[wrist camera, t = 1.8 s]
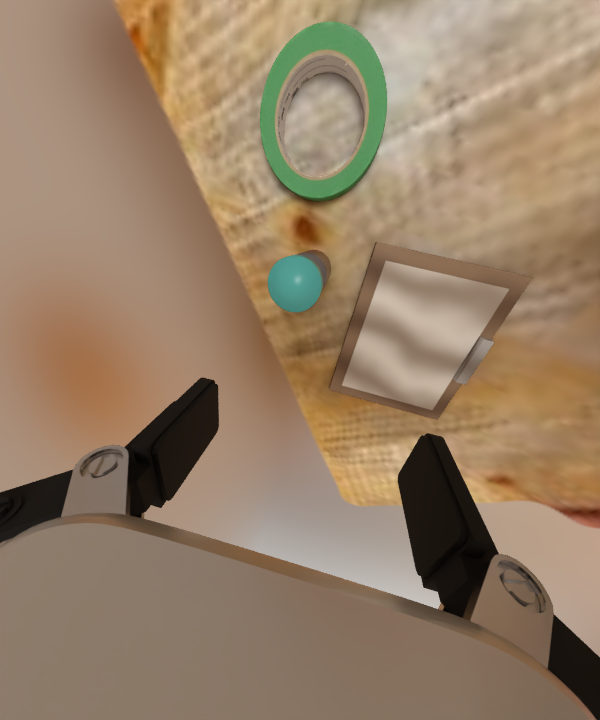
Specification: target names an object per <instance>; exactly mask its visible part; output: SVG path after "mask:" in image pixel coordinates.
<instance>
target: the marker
mask: <svg viewBox="0 0 600 720" xmlns="http://www.w3.org/2000/svg"><path fill="white" fill-rule="evenodd" d="M330 272H331V264H330V261H329V259H328V257H327V256H326V255H325V254H324V253H323V252H321V251H318V250H309V251H306V252H303V253H300V254H297V255H292V256H288V257H285V258H283V259H281V260H279V261H278V262H277V263H276V264H275V265H274V266H273V267H272V269H271V271H270V273H269V277H268V289H269V292H270V295H271V297H272V299H273V300H274V302H275V303H276V304H277V305H278V306H279V307H281V308H282V309H284V310H286V311H289V312H302V311H305V310H307V309H309V308H310V307H312V306H313V305H314V303H315V302H316V301H317V299H318V297H319V296H320V293H321V291H322V289H323V287H324V285H325V283H326V282H327V280H328V278H329V276H330Z"/></svg>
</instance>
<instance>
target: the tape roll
mask: <svg viewBox="0 0 600 720" xmlns="http://www.w3.org/2000/svg"><path fill="white" fill-rule="evenodd" d="M327 72H331V73H336V74H339V75H341V76H343V77H345V78H346V79H347V80H349V81H350V82H351V83H352V85H353V86H354V87H355V89H356V90H357V92H358V94H359V96H360V99H361V102H362V106H363V111H364V129H363V132H362V135H361V138H360V141H359V144H358V146H357V147H356V150H355V151H354V153H353V155H352V156H351V157H350V158H349V159H348V161H347V162H346V163H345V164H344V165H343V166H342V167H341V168H339V169H338V170H337V171H335V172H333V173H331V174H327V175H322V176H321V177H312V176H308V175H305V174H303V173H301V172H300V171H298V170H297V169H296V168H295V167H294V166H293V165H292V163H291V161H290V159H289V157H288V154H287V151H286V147H285V140H284V127H285V119H286V115H287V111H288V108H289V105H290V103H291V101H292V99H293V97H294V95H295V94H296V92H297V91H298V89H299V88H300V87H301V86H302V85H303V84H304V83H305V82H306V81H307V80H308V79H310V78H311V77H313V76H315V75H318V74H321V73H327ZM386 111H387V90H386V82H385V77H384V73H383V69H382V66H381V63H380V61H379V58H378V56H377V54H376V52H375V51H374V49H373V47H372V46H371V44H370V43H369V42H368V40H367V39H366V38H365V37H364V36H363V35H362V34H361V33H359V32H358V31H357V30H355V29H354V28H352V27H350V26H348V25H345V24H342V23H338V22H323V23H317V24H314V25H312V26H310V27H307V28H305V29H304V30H302V31H301V32H299V33H298V34H297V35H295V36H294V37H293V38H292V39H291V40H290V41H289V42H288V43H287V44H286V46H285V47H284V48H283V49H282V51H281V52H280V54H279V55H278V57H277V58H276V60H275V62H274V64H273V66H272V68H271V71H270V73H269V75H268V78H267V81H266V85H265V88H264V92H263V97H262V102H261V111H260V129H261V137H262V143H263V147H264V151H265V154H266V157H267V159H268V162H269V164H270V166H271V168H272V170H273V171H274V173H275V174H276V176H277V177H278V179H279V180H280V181H281V182H282V183H283V184H284V185H285V186H286V187H287V188H288V189H290V190H291V191H292V192H294V193H295V194H297V195H298V196H300V197H302V198H305V199H308V200H312V201H327V200H331V199H334V198H337V197H339V196H341V195H343V194H345V193H346V192H348V191H349V190H350V189H352V188H353V187H354V186H355V185H356V184H357V183H358V182H359V181H360V180H361V179H362V177H363V176H364V175H365V173H366V172H367V170H368V169H369V167H370V165H371V164H372V162H373V160H374V157H375V155H376V153H377V150H378V147H379V144H380V141H381V138H382V134H383V130H384V126H385V120H386Z"/></svg>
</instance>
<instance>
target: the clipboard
mask: <svg viewBox="0 0 600 720" xmlns="http://www.w3.org/2000/svg"><path fill="white" fill-rule="evenodd" d="M532 278H533V277H529V276H524V275H520V274H516V273H511V272H507V271H502V270H498V269H493V268H489V267H484V266H480V265H475V264H471V263H467V262H462V261H458V260H453V259H449V258H444V257H440V256H435V255H431V254H427V253H422V252H418V251H413V250H409V249H404V248H400V247H395V246H391V245H387V244H382V243H378V242H376V244H375V247H374V250H373V253H372V256H371V259H370V263H369V266H368V269H367V272H366V275H365V278H364V281H363V284H362V287H361V291H360V294H359V297H358V300H357V303H356V306H355V309H354V312H353V315H352V319H351V322H350V325H349V328H348V331H347V334H346V337H345V340H344V344H343V347H342V350H341V353H340V356H339V359H338V362H337V365H336V368H335V372H334V375H333V378H332V381H331V384H330V388H329V390H331V391H335V392H338V393H342V394H346V395H349V396H353V397H356V398H360V399H364V400H367V401H371V402H374V403H378V404H382V405H385V406H389V407H392V408H396V409H400V410H403V411H407V412H411V413H414V414H418V415H421V416H425V417H429V418H432V419H436V420H438V418H439V417H440V415H441V414H442V412H443V411H444V409H445V408H446V406H447V405H448V403H449V402H450V400H451V399H452V397H453V396H454V394H455V393H456V391H457V390H458V389H459V387H460V386H461V384H465V385H466V383H467V382H468V380H469V379H470V377H471V376H472V374H473V373H474V371H475V370H476V368H477V367H478V366H479V364H480V363H481V361H482V360H483V358H484V357H485V355H486V354H487V352H488V351H489V349H490V348H491V346H492V345H493V344H494V341H492V340H491V339H492V338H493V336H494V335H495V333H496V332H497V330H498V329H499V327H500V326H501V324H502V323H503V321H504V320H505V318H506V317H507V316H508V314H509V313H510V311H511V310H512V308H513V307H514V305H515V304H516V302H517V301H518V299H519V298H520V296H521V295H522V293H523V292H524V290H525V289H526V287H527V286H528V284H529V283H530V281H531V280H532Z"/></svg>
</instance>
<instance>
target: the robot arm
mask: <svg viewBox="0 0 600 720" xmlns="http://www.w3.org/2000/svg"><path fill="white" fill-rule="evenodd" d="M218 413H219V412H218V385H217V384H215V381H214V380H210V379H206V378H200V379H199V380H198V381H197V382H196V383H195V384H194V385H193V386H191V388H189V389H188V390H187V391H186V392H185V393H184V394H183V395H182V396H181V397H180V398H179V399H178V400H177V401H174V402H173V403H172V404H170V405H169V406H168V407H167V408H166V409H165V410H164V411H163V412H162V413H161V414H160V415H159V416H157V417H156V418H155V419H154V420H153V421H152V422H151V423H150V424H149V425H148V426H147V427H146V428H145V429H143V430H142V431H141V432H140V433H139V434H138V435H137V436H136V437H135V438H134V439H133V440H132V441H131V442H130V443H129V444H128V445H126V446H125V447H122V446H119V445H110V446H104V447H101V448H98V449H95V450H94V451H92V452H90V453H88V454H87V455H85V456H84V457H83V458H81V459H80V461H79V462H78V463H77V464H76V466H75V468H74V470H70V471H67V472H64V473H61V474H58V475H54V476H51V477H48V478H46V479H42V480H39V481H36V482H32V483H29V484H26V485H23V486H20V487H16V488H14V489H10V490H7V491H4V492H1V493H0V720H600V657H599V656H598V655H597V654H595V653H594V652H593V651H592V650H591V649H590V648H589V647H588V646H587V645H586V644H585V643H584V642H583V641H582V640H580V638H578V637H577V636H576V635H575V634H574V633H573V632H572V631H571V630H570V629H569V628H568V627H567V626H566V625H565V624H564V623H563V622H561V621H560V620H559V619H558V618H557V617H556V616H555V615H554V613H553V605H552V602H551V600H550V597H549V595H548V593H547V592H546V590H545V588H544V587H543V585H542V584H541V582H540V581H539V580H538V579H537V578H536V576H535V575H534V574H533V573H532V572H531V571H530V570H528V568H527V567H525V566H524V565H523V564H522V563H520V562H519V561H517V560H516V559H514V558H512V557H510V556H508V555H503V554H499V553H498V551H497V549H496V547H495V545H494V542H493V541H492V538H491V536H490V534H489V532H488V530H487V528H486V526H485V524H484V522H483V520H482V517H481V515H480V513H479V511H478V509H477V507H476V505H475V503H474V501H473V499H472V496H471V494H470V492H469V490H468V488H467V486H466V484H465V482H464V480H463V478H462V476H461V473H460V471H459V469H458V467H457V465H456V463H455V461H454V459H453V457H452V455H451V453H450V450H449V448H448V446H447V444H446V442H445V440H444V438H443V437H441V436H437V435H433V434H429V433H427V434H425V436H421V437H420V438H419V440H418V442H417V443H416V445H415V447H414V449H413V450H412V452H411V454H410V455H409V457H408V459H407V460H406V462H405V464H404V466H403V467H402V469H401V471H400V472H399V475H398V485H399V490H400V494H401V499H402V504H403V509H404V514H405V519H406V524H407V529H408V534H409V538H410V543H411V548H412V553H413V558H414V563H415V567H416V571H417V574H418V575H419V576H421V578H422V583H423V587H424V588H427V589H431V590H433V591H437V592H438V594H439V598H440V602H441V604H440V606H439V608H438V609H435V608H433V607H430V606H427V605H424V604H421V603H418V602H414V601H412V600H408V599H406V598H403V597H399V596H396V595H393V594H390V593H387V592H383V591H380V590H377V589H374V588H371V587H368V586H365V585H361V584H358V583H355V582H352V581H349V580H345V579H342V578H339V577H336V576H333V575H330V574H326V573H323V572H320V571H316V570H313V569H310V568H307V567H303V566H300V565H297V564H294V563H290V562H287V561H284V560H281V559H278V558H274V557H271V556H268V555H265V554H261V553H258V552H255V551H252V550H248V549H245V548H242V547H239V546H235V545H232V544H229V543H225V542H222V541H219V540H215V539H212V538H209V537H206V536H202V535H199V534H196V533H192V532H189V531H186V530H182V529H179V528H175V527H171V526H168V525H164V524H161V523H157V522H154V521H150V520H146V519H144V512H146V511H147V509H148V508H149V507H150V505H153V506H156V507H159V508H161V507H162V506H163V505H164V503H165V502H166V500H168V501H169V500H171V499H172V498H173V496H174V495H175V493H176V492H177V491H178V489H179V488H180V486H181V484H182V483H183V482H184V480H185V479H186V477H187V476H188V474H189V473H190V471H191V470H192V468H193V467H194V465H195V464H196V462H197V461H198V460H199V458H200V456H201V455H202V454H203V452H204V451H205V449H206V448H207V446H208V445H209V443H210V442H211V440H212V439H213V437H214V436H215V434H216V433H217V431H218V427H219V414H218Z"/></svg>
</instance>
